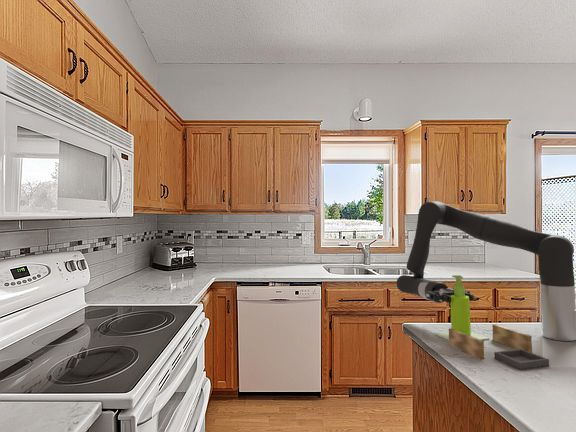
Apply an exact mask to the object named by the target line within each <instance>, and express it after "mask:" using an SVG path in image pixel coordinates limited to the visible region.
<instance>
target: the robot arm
mask: <svg viewBox="0 0 576 432" xmlns="http://www.w3.org/2000/svg"><path fill="white" fill-rule="evenodd" d="M417 215H418V216H417V223H416V230H415V234H414V239H413V243H412V246H411V250H410V253H409V256H408V260H407V263H406V269H407V270H408V271H409V272H411V273H413V275H405V274H403V275H400V276H399V277H398V278H397V279H396V288H397V289H398V291H400V292H402V293H406V294H411V295H416V296H418V297H421V298H424V299H425V300H427V301H431V302H433V303H438V304H442V303H444V302H445V303H451V296H452V295H454V288H451V287H448V286H447V284H446V283H444V282H441V281H436V280H433V279H426V278H424V276H425V275H424V274H425V267H426V265H427V262H428V258H429V255H430V243H431V238H432V234H433V231H434V229H435V227H436V225H443V226H448V227H451V228H453V229H454V228H455V229H458V230H460V231H461V232H464V233H466V234H467V235H469V236H470V237H473V238H475V239H477V240H479V241H483V242H487V243H489V244H492V245H497V246H501V247H507V248H512V249H513V248H514V249H520V250H523V251H526V252H529V253H532V254H534V255H537V259H538V260H537V261H538V275H539V279H540V299H541V300H540V302H541V303H540V304H541V322H542V323H541V326H542V328H541V329H542V336H543V337H544V338H546V339H549V340H553V341H554V340H555V341H562V342H573V341H576V286H575V284H576V283H575V282H576V281H575V280H576V279H575V275H574V274H575V273H574V257H573V255H574V253H575V249H574V245H573V243H572V242H571V240H569V238H567V237H565V236H563V235H557V234H551V233H544V232H539V231H535V230H531V229H528V228H526V227H523V226H520V225H518V224H515V223H512V222H510V221H506V220H504V219H500V218H496V217H494V216H490V215H486V214H481V213H477V212H472V211H466V210H463V209H459V208H456V207H454V206H450V205H448V204H446V203H443V202H442V201H438V200H434V201H433V200H432V201H430V200H429V201H426V202H425V203H423V204H422V205H421V206H420V208H419V209H418V214H417ZM465 296H468V297H469V302H473V301H474V298H475V297H474V294H473V293H471V291H470V290H465Z"/></svg>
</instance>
